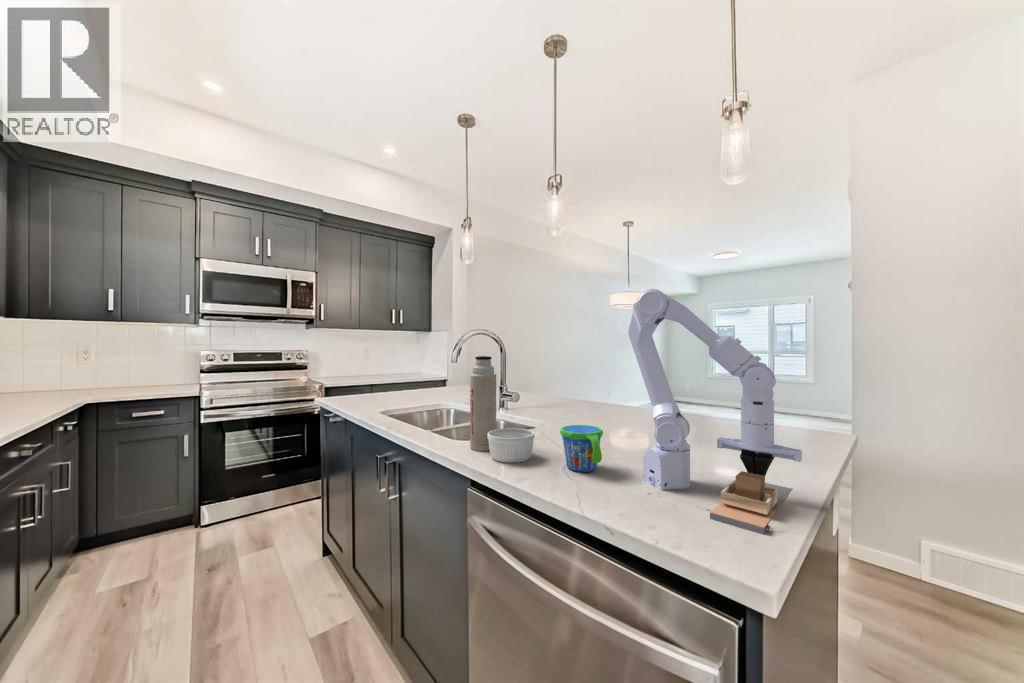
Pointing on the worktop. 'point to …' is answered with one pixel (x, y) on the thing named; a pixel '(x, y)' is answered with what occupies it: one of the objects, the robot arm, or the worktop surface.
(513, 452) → the ramekin
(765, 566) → the worktop surface
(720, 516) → the track
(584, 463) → the snack cup
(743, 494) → the block
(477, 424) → the thermos bottle
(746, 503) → the shallow wooden tray
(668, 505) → the worktop surface
